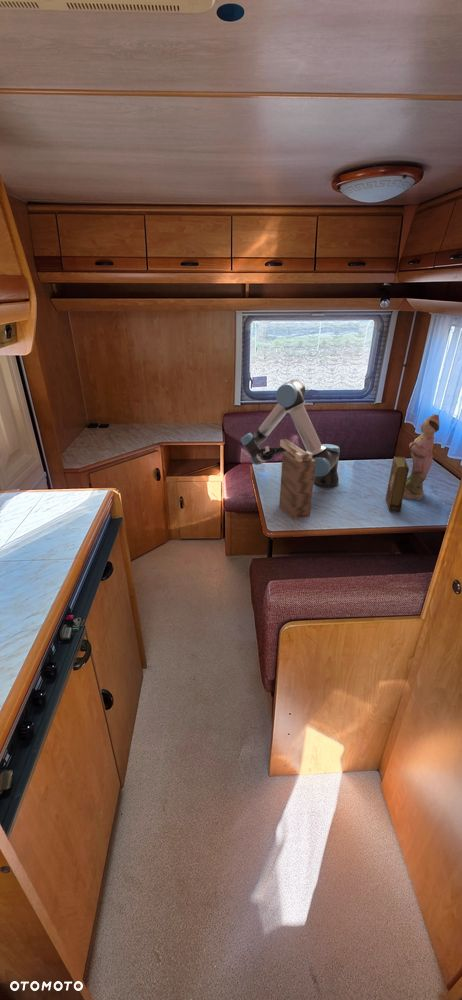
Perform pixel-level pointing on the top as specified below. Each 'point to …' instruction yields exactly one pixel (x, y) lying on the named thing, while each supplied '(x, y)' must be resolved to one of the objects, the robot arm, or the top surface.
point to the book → (397, 483)
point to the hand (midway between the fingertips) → (280, 446)
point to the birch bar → (296, 451)
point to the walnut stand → (296, 486)
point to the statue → (421, 458)
